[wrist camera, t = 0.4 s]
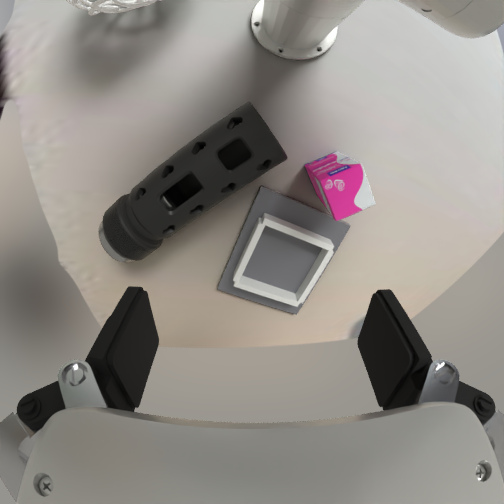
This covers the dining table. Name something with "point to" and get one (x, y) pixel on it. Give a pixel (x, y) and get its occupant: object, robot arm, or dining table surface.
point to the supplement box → (340, 184)
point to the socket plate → (281, 252)
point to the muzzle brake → (190, 184)
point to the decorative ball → (110, 5)
